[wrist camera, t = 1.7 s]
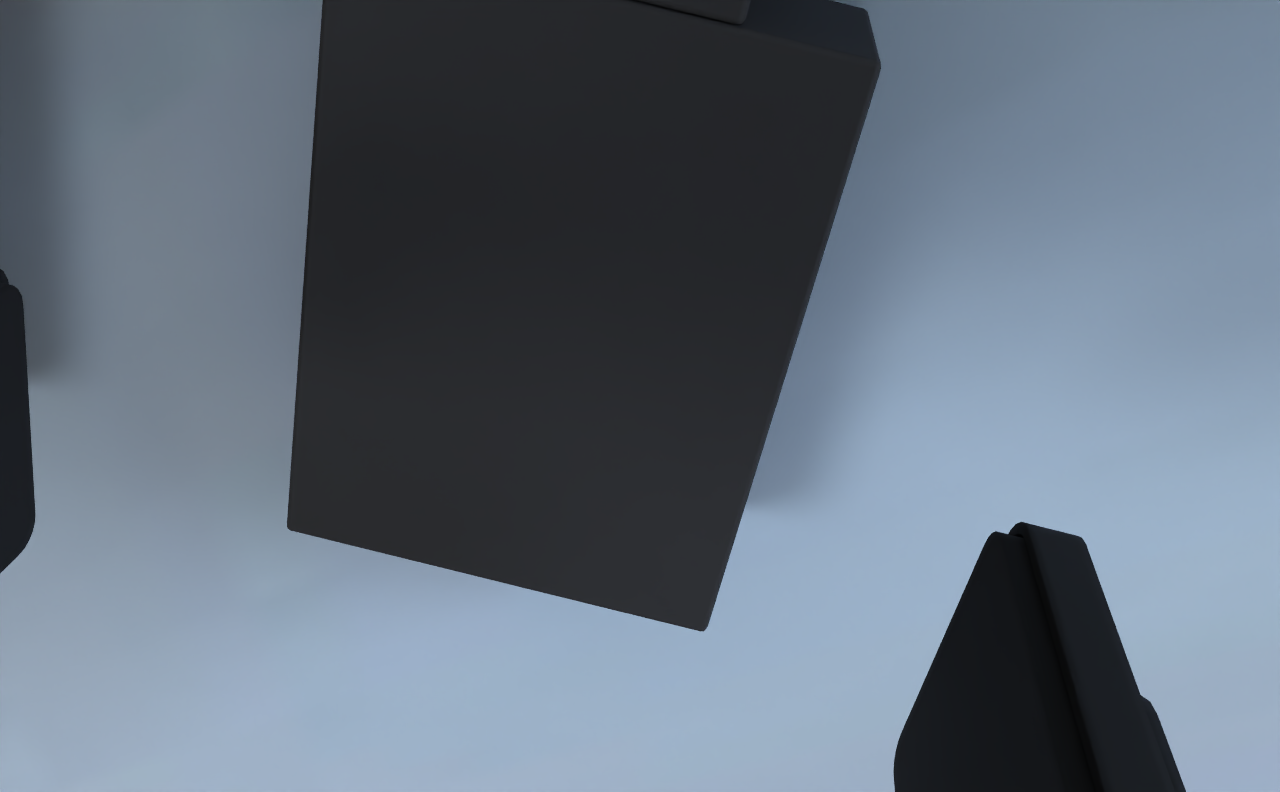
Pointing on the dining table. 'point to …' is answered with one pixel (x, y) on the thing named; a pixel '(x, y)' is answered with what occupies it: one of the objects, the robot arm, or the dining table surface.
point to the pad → (563, 279)
